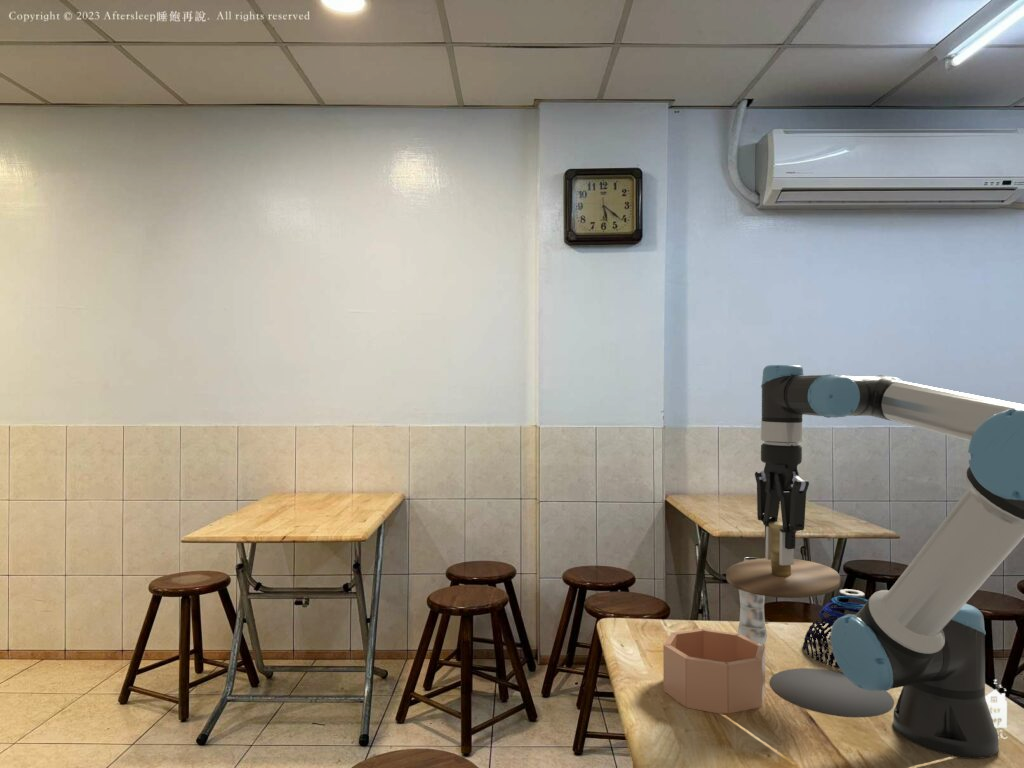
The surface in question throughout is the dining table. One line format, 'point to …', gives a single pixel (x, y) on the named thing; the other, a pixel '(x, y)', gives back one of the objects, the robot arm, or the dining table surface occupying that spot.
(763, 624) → the plastic bottle
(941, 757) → the dining table surface
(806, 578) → the lid
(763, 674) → the bowl
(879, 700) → the mat
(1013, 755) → the dining table surface
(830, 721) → the dining table surface
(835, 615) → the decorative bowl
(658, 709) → the dining table surface
